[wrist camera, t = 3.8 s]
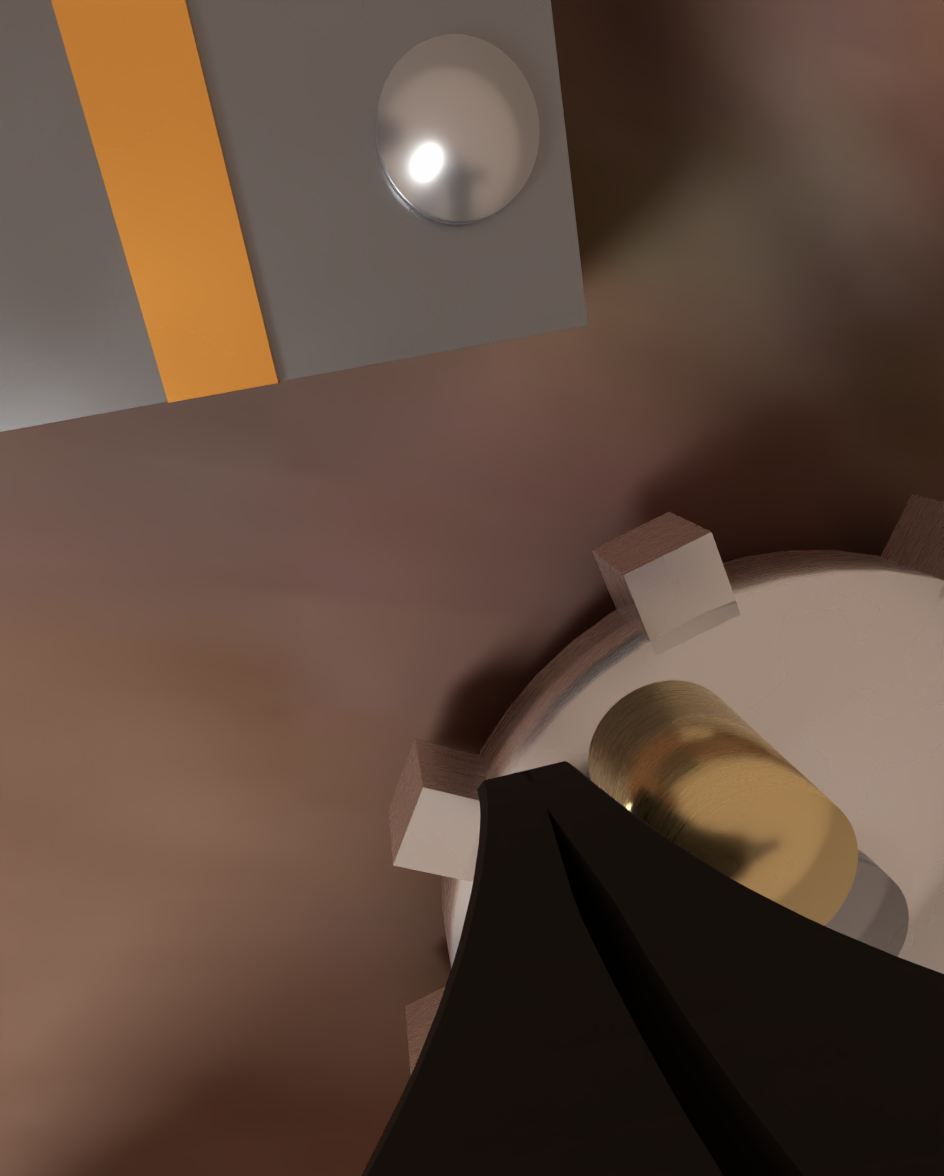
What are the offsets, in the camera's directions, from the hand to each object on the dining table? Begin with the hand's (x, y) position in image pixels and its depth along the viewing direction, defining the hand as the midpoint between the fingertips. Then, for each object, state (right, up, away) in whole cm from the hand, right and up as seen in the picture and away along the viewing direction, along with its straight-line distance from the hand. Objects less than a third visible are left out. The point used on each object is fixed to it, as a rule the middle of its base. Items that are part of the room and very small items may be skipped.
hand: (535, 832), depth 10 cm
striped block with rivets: (-4, +8, +1) cm, 9 cm away
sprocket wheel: (+5, -2, +5) cm, 7 cm away
